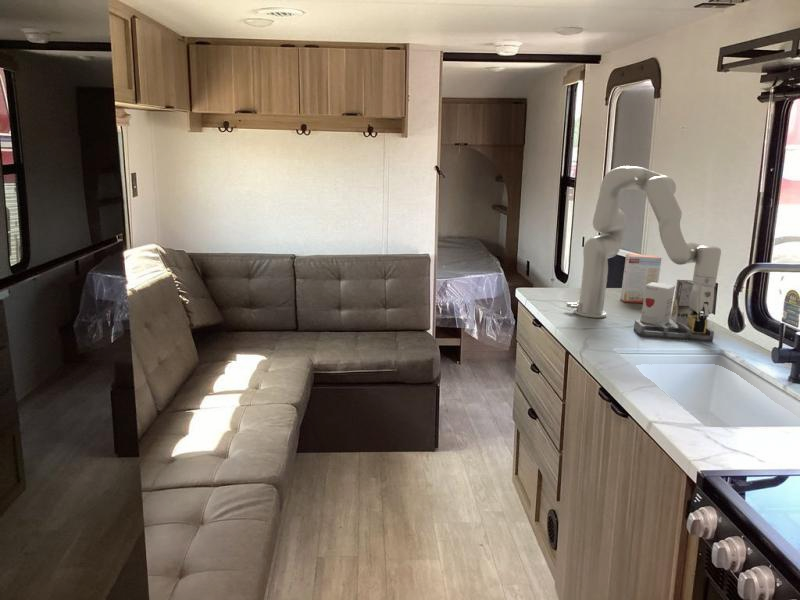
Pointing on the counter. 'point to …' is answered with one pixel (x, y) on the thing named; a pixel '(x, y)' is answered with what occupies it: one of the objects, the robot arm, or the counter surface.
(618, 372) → the counter surface
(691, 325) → the cage nut
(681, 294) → the coffee box
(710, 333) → the grey compartment tray
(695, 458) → the counter surface
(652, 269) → the cracker box
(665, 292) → the supplement box
